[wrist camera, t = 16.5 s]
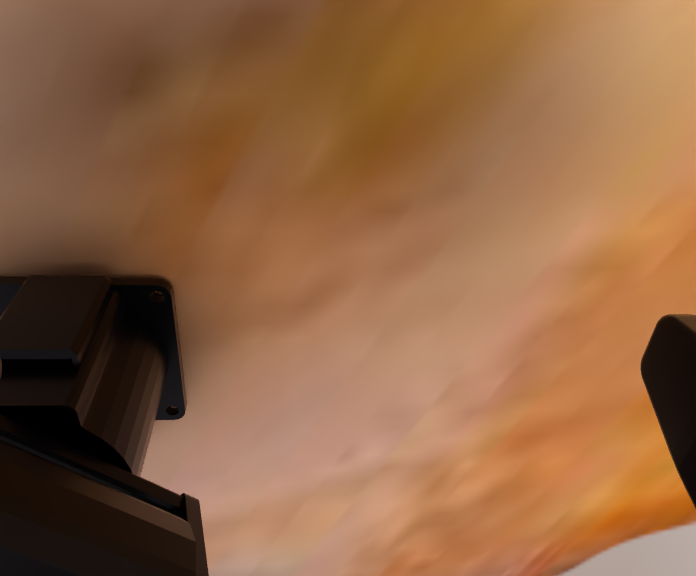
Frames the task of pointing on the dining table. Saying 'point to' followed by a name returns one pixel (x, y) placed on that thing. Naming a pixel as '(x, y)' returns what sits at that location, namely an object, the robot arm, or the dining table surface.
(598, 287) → the dining table surface
